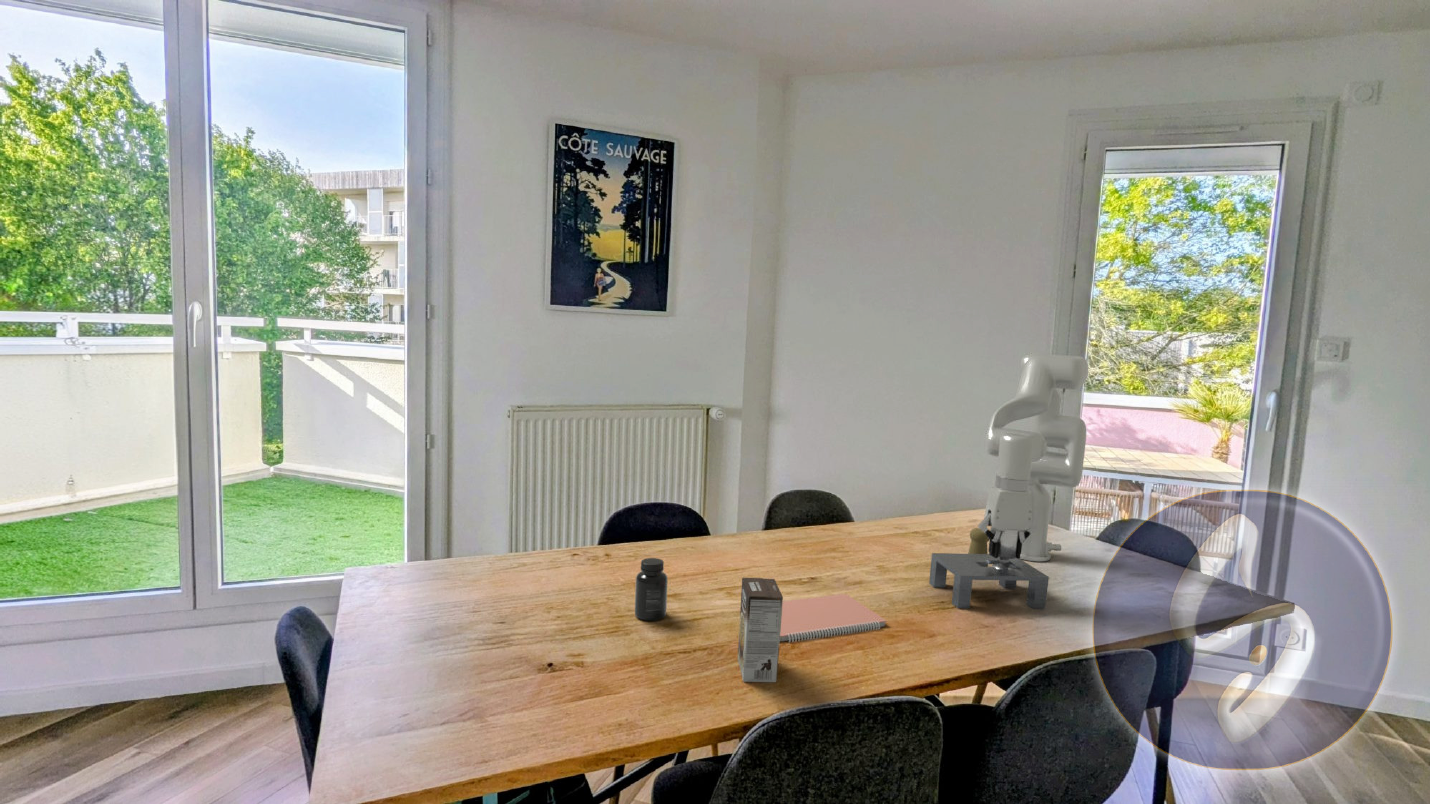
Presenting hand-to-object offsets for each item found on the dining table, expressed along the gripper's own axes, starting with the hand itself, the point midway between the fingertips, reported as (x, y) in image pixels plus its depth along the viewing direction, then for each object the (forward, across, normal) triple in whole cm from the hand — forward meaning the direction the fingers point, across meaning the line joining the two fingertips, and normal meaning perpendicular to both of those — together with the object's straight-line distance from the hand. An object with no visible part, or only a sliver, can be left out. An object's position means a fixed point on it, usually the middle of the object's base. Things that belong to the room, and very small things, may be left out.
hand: (1004, 555), depth 173 cm
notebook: (+11, +51, +14) cm, 54 cm away
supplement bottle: (+11, +87, +13) cm, 89 cm away
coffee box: (+11, +68, +37) cm, 78 cm away
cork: (+10, -4, -20) cm, 23 cm away
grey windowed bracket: (+10, +4, 0) cm, 11 cm away
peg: (+4, 0, 0) cm, 4 cm away
